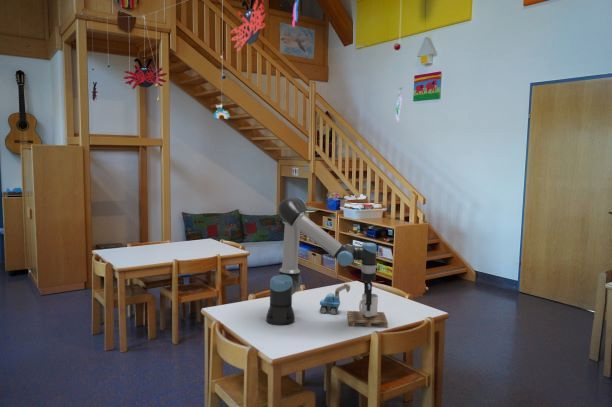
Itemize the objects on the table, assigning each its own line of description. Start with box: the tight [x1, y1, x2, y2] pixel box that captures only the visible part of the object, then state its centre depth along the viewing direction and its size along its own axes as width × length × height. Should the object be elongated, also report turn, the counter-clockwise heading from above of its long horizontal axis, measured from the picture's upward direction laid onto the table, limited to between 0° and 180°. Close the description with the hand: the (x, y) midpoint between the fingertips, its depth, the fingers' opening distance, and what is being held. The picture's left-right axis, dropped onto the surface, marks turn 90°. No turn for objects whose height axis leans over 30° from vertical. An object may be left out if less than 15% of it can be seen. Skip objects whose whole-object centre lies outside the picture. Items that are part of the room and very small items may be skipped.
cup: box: [358, 293, 379, 316], centre depth 262 cm, size 8×12×10 cm
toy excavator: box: [319, 282, 351, 315], centre depth 277 cm, size 9×17×17 cm, turn 78°
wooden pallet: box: [346, 310, 389, 329], centre depth 263 cm, size 20×16×3 cm
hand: (367, 313), depth 263 cm, fingers closed on cup, 9 cm apart
